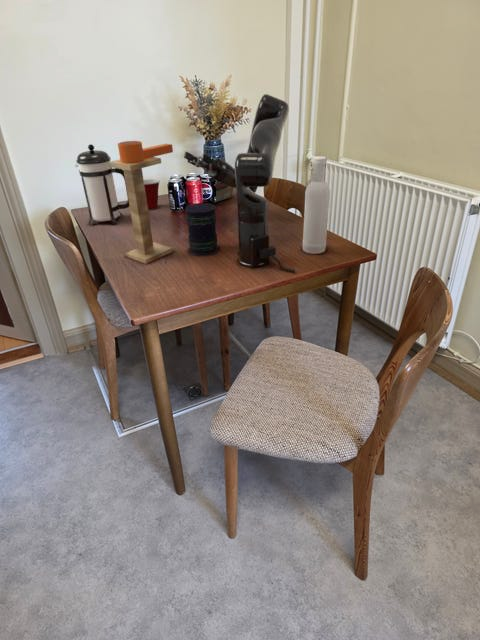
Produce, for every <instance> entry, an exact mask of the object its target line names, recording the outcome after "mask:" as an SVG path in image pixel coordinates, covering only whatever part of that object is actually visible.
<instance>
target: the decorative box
mask: <svg viewBox="0 0 480 640" xmlns="http://www.w3.org/2000/svg"><path fill="white" fill-rule="evenodd" d="M214 186H215V187H216V201H215V202H213V201H212V202H211V203H213V204H215V203H217V202H221V201H223V200H226V199H229V198H232V195H233V192H234V188H232V187H229V186H228V185H226V184H223V183H220V182H219V181H217V182H215V184H214ZM204 195H207V193H206V191H205V193H204Z"/></svg>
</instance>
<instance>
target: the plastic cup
mask: <svg viewBox="0 0 480 640" xmlns="http://www.w3.org/2000/svg"><path fill="white" fill-rule="evenodd" d="M143 180H144V187H145V193H146V200H147V206H148V211H149V210H155V209H157V208H158V206H159V202H158V201H159V186H160V182H161V180H159V179H155V178H154V179H151V178H150V179H148V178H147V179H143Z"/></svg>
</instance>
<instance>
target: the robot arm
mask: <svg viewBox="0 0 480 640" xmlns="http://www.w3.org/2000/svg"><path fill="white" fill-rule="evenodd" d="M289 106H290V105H289V104H288V103H287V102H286V101H285V100H282V98H281V99H280V98H278V97H275V96H273V95H270V94H268V93H266V94H263V95H262V96H261V98H260V100H259V102H258V104H257V108H256V111H255V114H254V118H253V123H252V127H251V132H250V137H249V143H248V147H247V151H246V152H240V153H238V154H237V155H236V157H235V160H234V167H233V166H232V165H231V164H230V163H229V162H227V161H225V160H223V159H221V158H220V157H210V156H209V155H207V154H205V153H202V154H201V156H200V155H198V156H197V155H194V154H192V153H190V152H188V151H184V154H183V158H184V159H185V160H187V163H189V164H190V165H193V166H194V167H196V168H201V169H202V170H205V171H206V173H207V175H208V178H209V177H211V178H213V179H215V180H217V181H219V182H220V183H223V184H226V185H228V186H229V187H232V188H233V189H236V190H235V191H236V204H237V205H236V206H237V207H236V208H237V233H238V236H237V237H238V251H237V256H238V262H239V263H240V264H241V265H243V266H246V267H251V268H252V269H253V268H254V269H255V268H257V267H261V266H264V265H268V264H270V258H272V259H273V260H274V261H275V262H276V263H277V264H278V266H279V268H280V269H281V270H283V271H285V272H292V273H295V272H296V270H295V269H292V268H286V267H284V266H283V265H282V263H281V261H280V260H279V259H278V258H277V257H276V255H277V254H276V253H277V252H276V251H277V250H276V249H277V248H276V246H274V245H270V235H269V233H268V231H269V228H268V227H269V219H268V218H269V203H268V199H267V198H266V197H265V196H263V195H260V194H258V193H256V192H257V191H258V188H265V187H267V186H269V185H270V183H271V182H272V179H273V176H274V170H275V169H274V168H275V161H276V157H277V153H278V149H279V147H280V143H281V138H282V135H283V134H282V133H283V130H284V127H285V124H286V122H287V119H288V116H289V112H290V107H289Z"/></svg>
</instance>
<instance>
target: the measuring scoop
mask: <svg viewBox="0 0 480 640" xmlns="http://www.w3.org/2000/svg"><path fill="white" fill-rule="evenodd" d="M117 149H118V154H119V160H121V162H122V163H136V162H141V161H143V160H144V159H146V158H151V157H159V156H163V155H166V154H167V155H168V154H171V153H174V149H173V144H172V143H162V144H157V145H153V146H149V147H144V148H143V142H142V141H140V140H125V141H121V142H118V143H117Z"/></svg>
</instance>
